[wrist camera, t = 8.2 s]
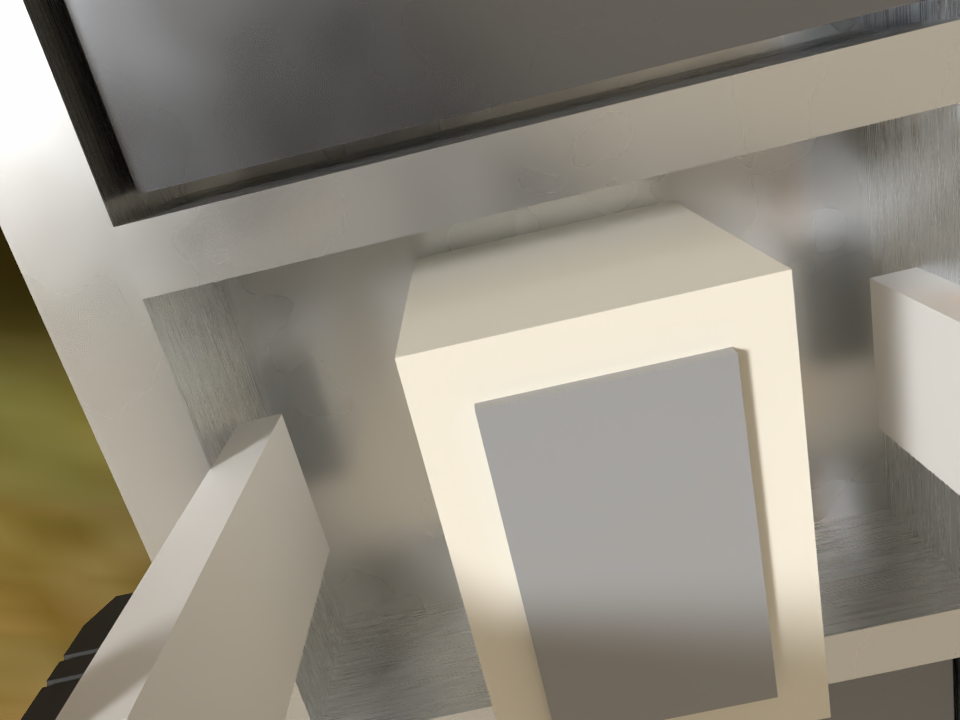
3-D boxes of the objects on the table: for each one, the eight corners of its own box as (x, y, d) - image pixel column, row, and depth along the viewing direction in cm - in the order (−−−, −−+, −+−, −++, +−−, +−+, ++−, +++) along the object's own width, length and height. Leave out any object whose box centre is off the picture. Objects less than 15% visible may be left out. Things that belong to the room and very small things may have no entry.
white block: (415, 259, 14) (392, 364, 9) (671, 200, 13) (798, 273, 8) (495, 569, 16) (514, 791, 11) (717, 522, 16) (837, 728, 11)
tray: (-125, -436, 11) (-486, -753, 7) (909, -741, 10) (1226, -1306, 6) (405, 923, 20) (393, 1138, 16) (955, 815, 20) (1088, 1013, 15)
